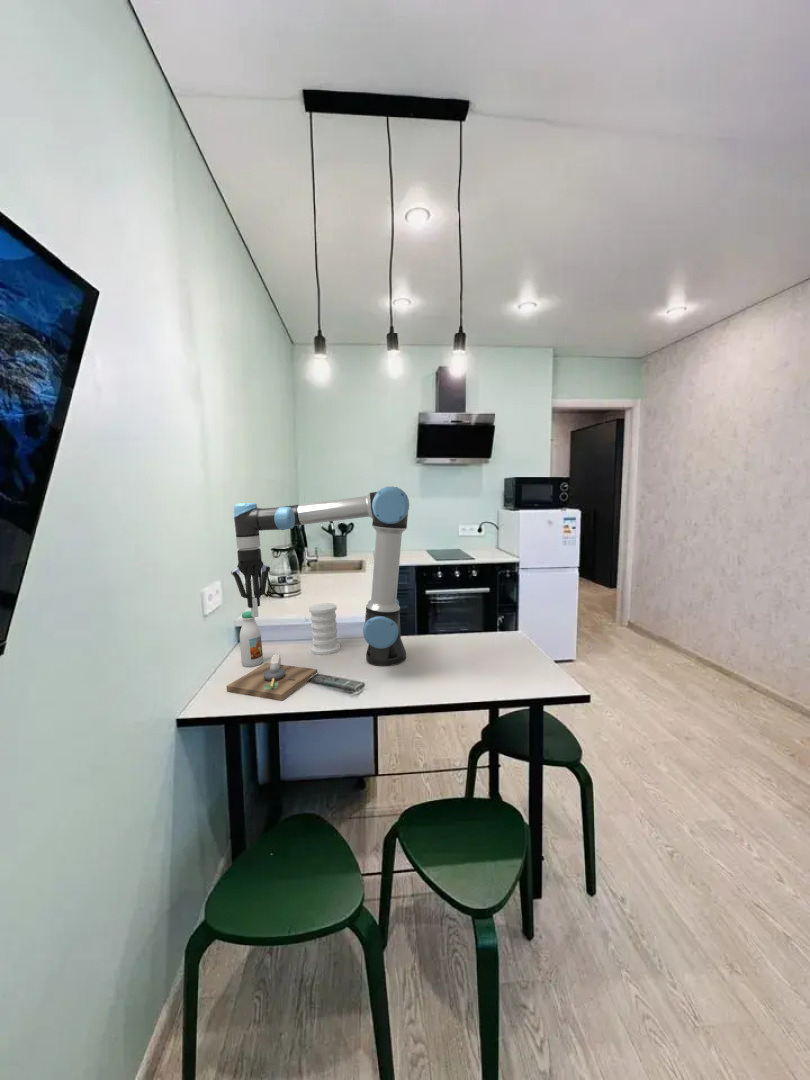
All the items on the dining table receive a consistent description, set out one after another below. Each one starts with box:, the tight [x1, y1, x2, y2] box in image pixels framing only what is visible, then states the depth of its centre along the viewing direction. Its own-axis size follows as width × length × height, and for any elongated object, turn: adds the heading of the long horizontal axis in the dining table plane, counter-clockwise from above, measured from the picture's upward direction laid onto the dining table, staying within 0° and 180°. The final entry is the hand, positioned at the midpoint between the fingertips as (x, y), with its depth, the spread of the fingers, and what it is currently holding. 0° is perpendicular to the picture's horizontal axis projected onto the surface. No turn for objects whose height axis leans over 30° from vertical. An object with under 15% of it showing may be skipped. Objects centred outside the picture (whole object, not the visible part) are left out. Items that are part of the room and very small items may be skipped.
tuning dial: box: [263, 653, 285, 688], centre depth 148 cm, size 20×7×4 cm, turn 11°
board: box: [226, 662, 319, 701], centre depth 148 cm, size 22×20×2 cm
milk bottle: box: [239, 610, 264, 668], centre depth 165 cm, size 8×8×20 cm
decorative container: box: [308, 602, 341, 656], centre depth 177 cm, size 12×12×18 cm
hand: (255, 616), depth 150 cm, fingers closed
